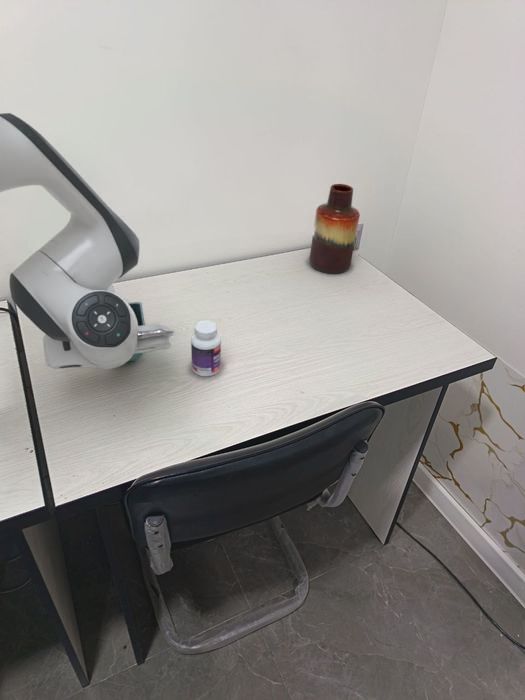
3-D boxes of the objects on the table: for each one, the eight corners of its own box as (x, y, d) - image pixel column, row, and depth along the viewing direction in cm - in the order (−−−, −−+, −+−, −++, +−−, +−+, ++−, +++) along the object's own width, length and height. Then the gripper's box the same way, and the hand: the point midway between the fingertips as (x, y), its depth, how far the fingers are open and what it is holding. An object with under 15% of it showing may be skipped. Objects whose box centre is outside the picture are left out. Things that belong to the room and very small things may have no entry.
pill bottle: (219, 378, 92) (219, 336, 86) (190, 376, 92) (188, 334, 86) (221, 359, 96) (222, 318, 90) (193, 358, 96) (192, 317, 90)
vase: (336, 251, 136) (348, 177, 123) (358, 270, 128) (373, 193, 116) (301, 257, 132) (311, 181, 119) (322, 277, 124) (334, 198, 112)
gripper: (172, 310, 79) (166, 325, 92) (33, 327, 73) (48, 341, 86) (178, 348, 78) (171, 359, 91) (39, 369, 72) (53, 377, 86)
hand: (111, 350), depth 89 cm, fingers closed, pressing on flower pot
